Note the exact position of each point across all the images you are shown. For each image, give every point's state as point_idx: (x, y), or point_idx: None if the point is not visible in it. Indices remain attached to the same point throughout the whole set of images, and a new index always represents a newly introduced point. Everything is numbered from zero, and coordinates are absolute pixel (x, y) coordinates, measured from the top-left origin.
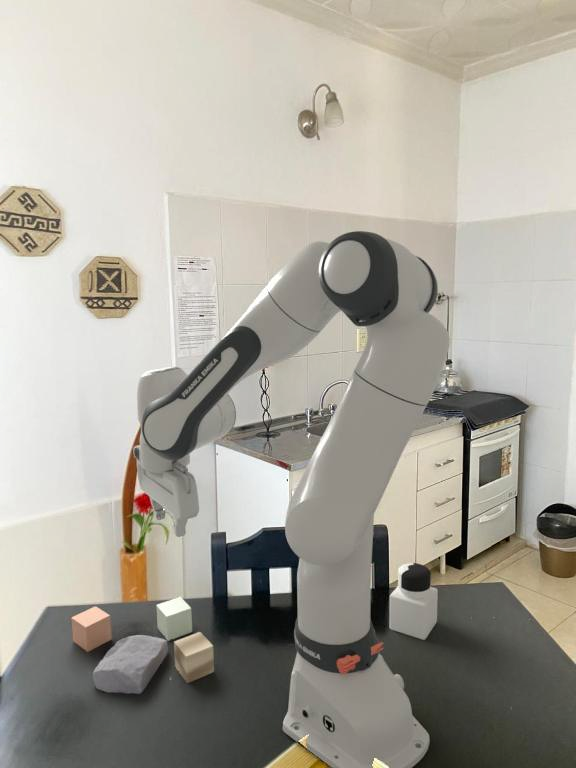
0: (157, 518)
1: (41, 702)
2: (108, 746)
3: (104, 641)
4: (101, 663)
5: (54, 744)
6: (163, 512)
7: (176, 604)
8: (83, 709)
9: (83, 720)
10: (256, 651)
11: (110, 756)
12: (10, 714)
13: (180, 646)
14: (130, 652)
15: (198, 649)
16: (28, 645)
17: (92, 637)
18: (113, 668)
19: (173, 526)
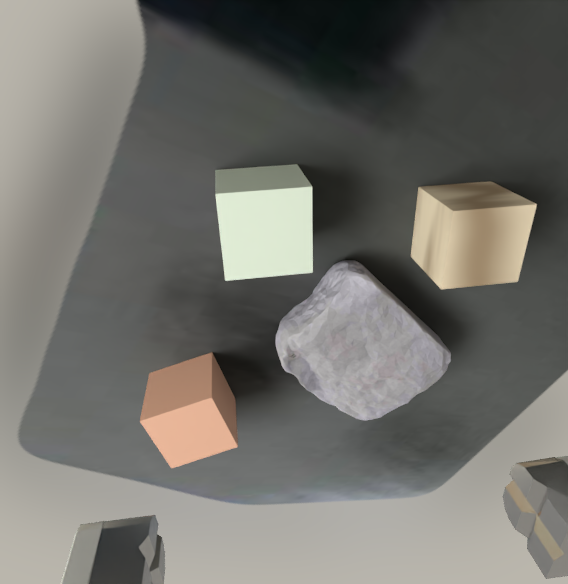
0: (162, 567)
1: (340, 466)
2: (508, 397)
3: (219, 369)
4: (338, 402)
5: (446, 453)
6: (148, 579)
7: (259, 223)
8: (403, 418)
9: (428, 420)
10: (511, 27)
11: (528, 397)
12: (338, 497)
13: (471, 280)
14: (362, 360)
15: (518, 244)
16: (146, 483)
17: (231, 409)
18: (404, 402)
19: (555, 574)
